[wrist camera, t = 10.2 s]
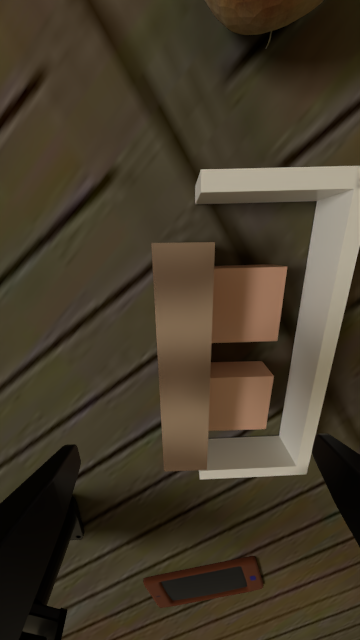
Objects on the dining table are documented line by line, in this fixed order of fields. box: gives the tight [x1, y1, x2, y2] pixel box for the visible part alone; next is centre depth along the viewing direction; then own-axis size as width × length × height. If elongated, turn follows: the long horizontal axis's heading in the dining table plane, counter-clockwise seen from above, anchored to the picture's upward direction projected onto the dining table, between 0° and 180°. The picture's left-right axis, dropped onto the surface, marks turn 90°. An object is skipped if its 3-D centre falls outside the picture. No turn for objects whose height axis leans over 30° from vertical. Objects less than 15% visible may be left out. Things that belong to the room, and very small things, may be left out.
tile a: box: [208, 361, 274, 431], centre depth 17 cm, size 5×5×2 cm
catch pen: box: [195, 166, 360, 479], centre depth 15 cm, size 22×9×3 cm, turn 2°
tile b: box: [211, 264, 287, 343], centre depth 15 cm, size 5×5×2 cm
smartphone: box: [143, 556, 263, 608], centre depth 28 cm, size 7×1×15 cm
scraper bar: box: [151, 242, 215, 471], centre depth 15 cm, size 15×3×5 cm, turn 1°
